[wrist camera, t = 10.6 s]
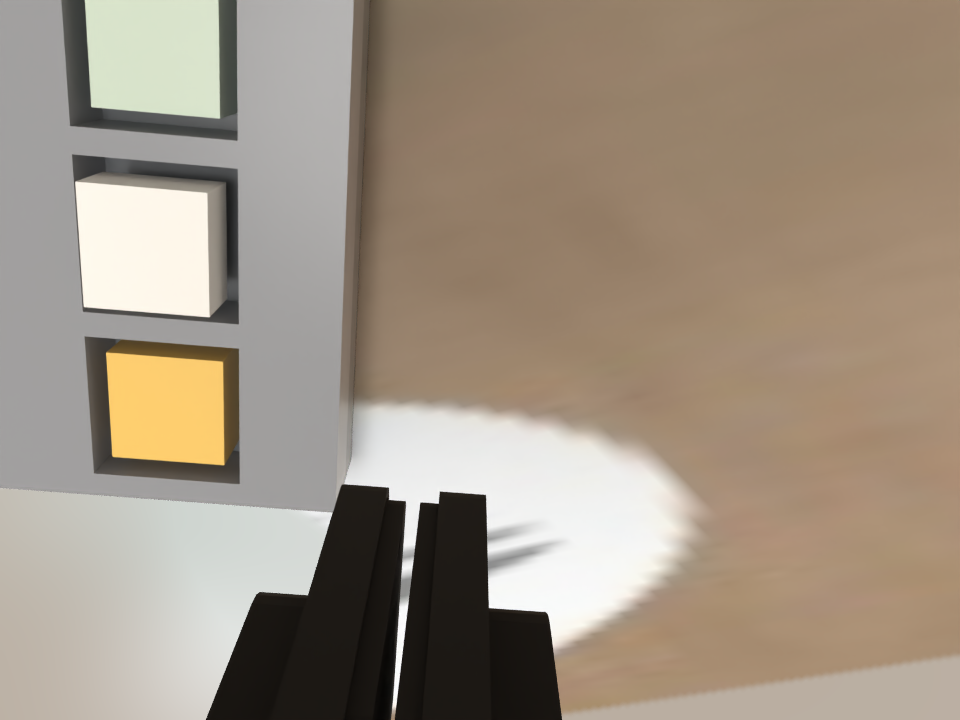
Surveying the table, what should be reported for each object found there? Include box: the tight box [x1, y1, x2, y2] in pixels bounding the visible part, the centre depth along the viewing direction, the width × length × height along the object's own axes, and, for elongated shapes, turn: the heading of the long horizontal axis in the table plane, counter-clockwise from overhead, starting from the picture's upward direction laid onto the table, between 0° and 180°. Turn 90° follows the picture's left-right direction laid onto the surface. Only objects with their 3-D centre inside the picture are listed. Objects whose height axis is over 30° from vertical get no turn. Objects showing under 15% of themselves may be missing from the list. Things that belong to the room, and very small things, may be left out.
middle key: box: [75, 172, 227, 317], centre depth 33 cm, size 5×5×2 cm
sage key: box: [85, 0, 237, 119], centre depth 32 cm, size 5×5×2 cm
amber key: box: [106, 339, 239, 465], centre depth 37 cm, size 5×5×2 cm
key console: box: [0, 0, 370, 512], centre depth 36 cm, size 14×22×5 cm, turn 175°
